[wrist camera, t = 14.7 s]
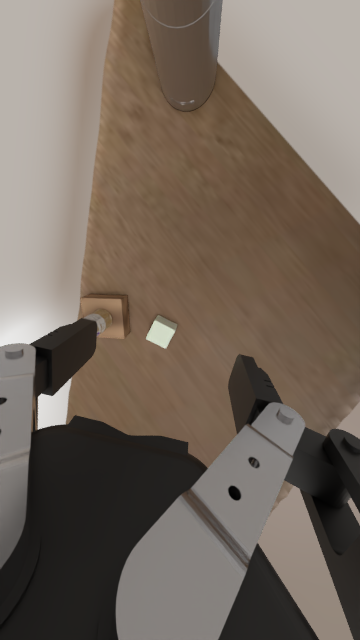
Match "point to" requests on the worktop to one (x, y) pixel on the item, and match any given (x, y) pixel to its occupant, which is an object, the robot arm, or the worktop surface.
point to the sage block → (161, 331)
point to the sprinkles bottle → (101, 320)
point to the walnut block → (114, 306)
